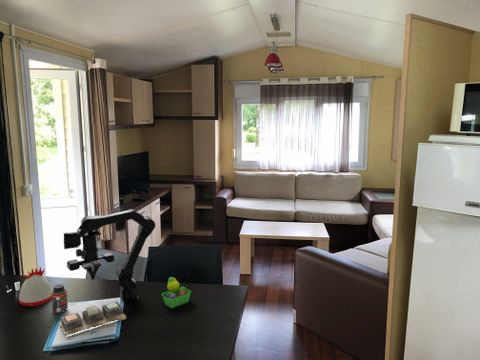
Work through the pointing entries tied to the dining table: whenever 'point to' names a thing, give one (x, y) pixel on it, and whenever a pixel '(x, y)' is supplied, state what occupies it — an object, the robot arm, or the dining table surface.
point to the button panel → (92, 319)
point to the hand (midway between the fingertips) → (92, 279)
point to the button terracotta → (71, 318)
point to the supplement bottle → (59, 299)
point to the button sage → (111, 306)
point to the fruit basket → (175, 294)
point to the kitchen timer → (35, 289)
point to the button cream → (92, 310)
